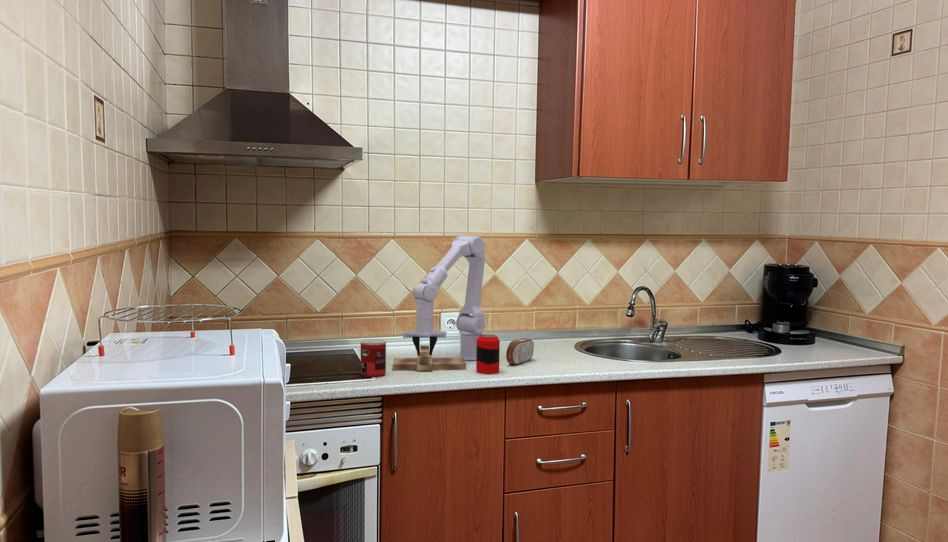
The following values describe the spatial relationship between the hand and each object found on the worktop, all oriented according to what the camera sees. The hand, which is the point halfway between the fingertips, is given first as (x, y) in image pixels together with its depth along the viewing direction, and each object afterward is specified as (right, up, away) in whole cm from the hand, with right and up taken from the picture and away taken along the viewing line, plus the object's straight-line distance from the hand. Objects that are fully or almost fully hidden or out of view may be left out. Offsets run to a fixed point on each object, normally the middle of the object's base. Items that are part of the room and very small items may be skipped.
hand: (424, 358), depth 217 cm
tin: (+33, -3, +8) cm, 34 cm away
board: (+2, -3, 0) cm, 3 cm away
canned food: (-15, -4, -12) cm, 20 cm away
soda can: (+21, -4, -6) cm, 22 cm away
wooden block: (0, -2, -1) cm, 3 cm away
